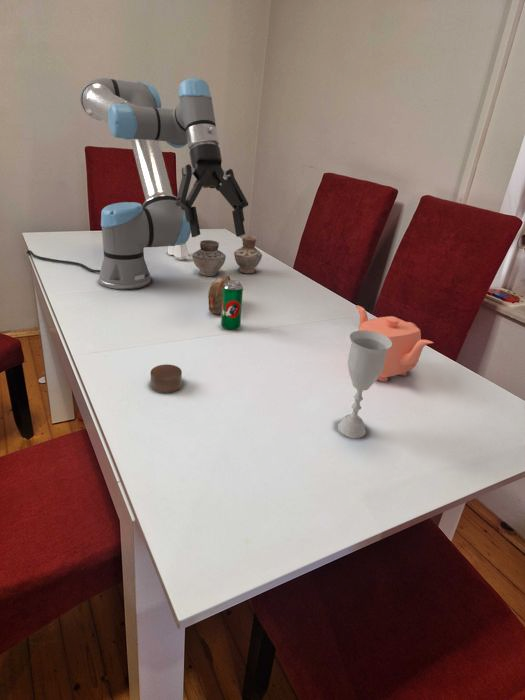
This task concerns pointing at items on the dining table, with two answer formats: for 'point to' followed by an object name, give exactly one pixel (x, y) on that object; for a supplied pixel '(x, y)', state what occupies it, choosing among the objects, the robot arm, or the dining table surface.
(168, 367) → the brown short cylinder
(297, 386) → the dining table surface
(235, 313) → the soda can
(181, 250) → the shaker set
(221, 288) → the bread slice
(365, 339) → the chalice
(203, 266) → the pottery
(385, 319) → the teapot
